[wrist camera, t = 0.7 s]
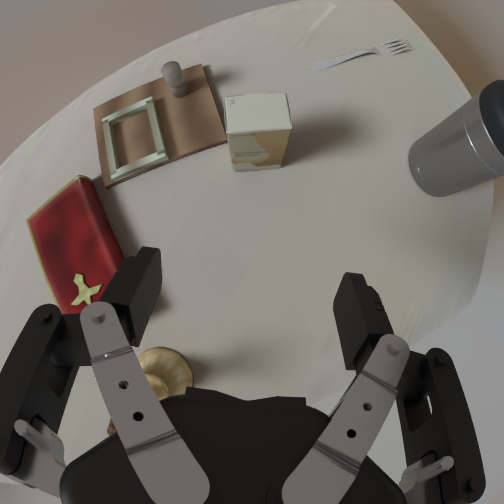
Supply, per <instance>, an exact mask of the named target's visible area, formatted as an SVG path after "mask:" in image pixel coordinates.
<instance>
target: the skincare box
mask: <svg viewBox="0 0 504 504" xmlns="http://www.w3.org/2000/svg"><path fill="white" fill-rule="evenodd" d="M224 116H225V126H226V134H227V140H228V145H229V151H230V155H231V161H232V166H233V171H234V172H243V171H257V170H267V169H277V168H281V164H282V161H283V157H284V154H285V151H286V147H287V144H288V141H289V137H290V134H291V131H292V119H291V110H290V103H289V97H288V93H287V92H267V93H250V94H240V95H230V96H224Z"/></svg>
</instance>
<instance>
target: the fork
mask: <svg viewBox="0 0 504 504" xmlns="http://www.w3.org/2000/svg"><path fill="white" fill-rule="evenodd" d="M403 38H404V37H402V38H398V39H395V40H391V41H388V42H384V43H381V45H382V46H383V45H384V44H388V43H391V42H394V41H398V40H400V39H403ZM405 41H407V40H404V41H401V42H397V43H394V44H391V45H388V46H383V47H384V48H385V49H386V51H387V52H388V53H389V54H390V55H395V54H397V53H400V52H402V51H404V50H406V49H408V48H410V47H412V46H409V47H406V48H404V49H401V50H399V51H397V52H394V53H390V52H391V51H394V50H396V49H398V48H401V47H403V46H405V45H407V44H409V43H406V44H403V45H401V46H398V47H395V48H393V49H387V48H389V47H392V46H395V45H397V44H400V43H403V42H405ZM365 53H376V54H378V55H382V54H381V53H380V52H379V51H378V50H377V49H376V47H373V48H372V49H368V50H363V51H359V52H356V53H352V54H348V55H345V56H341V57H336V58H332V59H329V60H325V61H321V62H318V63H315V64H313V65H311V66H310V67H309V70H310V71H321V70H324V69H326V68H329V67H332V66H335V65H337V64H339V63H342V62H344V61H346V60H349V59H351V58H354V57H356V56H359V55H362V54H365Z"/></svg>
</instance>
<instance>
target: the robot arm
mask: <svg viewBox="0 0 504 504" xmlns="http://www.w3.org/2000/svg"><path fill="white" fill-rule="evenodd" d="M409 167H410V170H411V173H412V175H413V177H414V179H415V181H416V182H417V184H418V185H419V186H420V187H421V188H422V189H423V190H424V191H425V192H426V193H428V194H430V195H432V196H436V197H443V196H446V195H449V194H452V193H455V192H457V191H461V190H464V189H466V188H469V187H472V186H475V185H478V184H480V183H483V182H486V181H489V180H492V179H495V178H497V177H500V176H503V175H504V80H496V81H494V82H492V83H491V84H490V85H488V86H487V87H486V88H484V89H483V90H482V91H481V92H479V93H478V94H477V95H475V96H474V97H473V98H472V99H470V100H469V101H468V102H467V103H465V104H464V105H463V106H462V107H460V108H459V109H458V110H456V111H455V112H454V113H452V114H451V115H450V116H449V117H447V118H446V119H445V120H443V121H442V122H441V123H439V124H438V125H437V126H436V127H434V128H433V129H432V130H430V131H429V132H428V133H426V134H425V135H424V136H422V137H421V138H420V139H418V140H417V141H416V142H415V143H414V144H413V145H412V147H411V149H410V152H409ZM161 285H162V268H161V252H160V249H159V248H152V247H144V246H143V247H142V248H141V249H140V251H139V252H138V254H137V256H136V257H132V256H130V257H128V258H127V259H126V260H124V261H123V262H122V263H121V264H120V266H119V267H118V269H117V270H116V272H115V274H114V275H113V278H112V279H111V280H110V282H109V284H108V285H107V287H106V289H105V291H104V292H103V294H102V296H101V297H100V299H99V301H98V302H93V303H91V304H89V305H87V306H86V307H85V308H84V309H83V310H82V312H81V313H76V314H62V313H61V310H60V309H59V307H58V306H56V305H54V304H44V305H41V306H39V307H38V308H36V309H35V310H34V311H33V313H32V314H31V316H30V318H29V319H28V321H27V323H26V325H25V326H24V328H23V330H22V332H21V333H20V335H19V337H18V339H17V341H16V343H15V344H14V346H13V348H12V350H11V352H10V354H9V356H8V358H7V360H6V362H5V364H4V366H3V368H2V370H1V373H0V473H1V474H2V475H4V476H6V477H8V478H10V479H12V480H14V481H16V482H18V483H22V484H24V485H26V486H28V487H31V488H38V489H40V490H42V491H44V492H47V493H49V494H51V495H53V496H56V497H58V498H61V502H62V504H471V503H473V502H476V501H477V500H478V499H480V497H481V496H482V495H483V493H484V490H485V486H486V480H485V474H484V469H483V463H482V458H481V454H480V450H479V445H478V441H477V437H476V433H475V429H474V425H473V422H472V418H471V415H470V411H469V408H468V405H467V401H466V398H465V395H464V392H463V389H462V386H461V383H460V380H459V377H458V375H457V372H456V369H455V366H454V364H453V361H452V359H451V357H450V356H449V354H448V353H447V352H445V351H444V350H442V349H440V348H432V349H430V350H429V351H428V352H427V353H426V355H423V354H420V353H417V352H413V351H410V349H409V346H408V344H407V343H406V342H405V341H404V340H403V339H402V338H401V337H399V336H397V335H394V332H393V329H392V327H391V324H390V322H389V319H388V316H387V314H386V312H385V309H384V306H383V305H382V301H381V299H380V297H379V294H378V293H377V292H376V291H375V290H374V289H373V288H372V286H367V283H366V281H365V278H364V276H363V274H358V273H349V272H346V273H345V274H344V276H343V278H342V281H341V283H340V286H339V288H338V291H337V293H336V296H335V299H334V303H333V312H334V316H335V320H336V325H337V329H338V334H339V338H340V343H341V348H342V352H343V357H344V362H345V367H346V370H356V376H355V377H354V379H353V380H352V382H351V384H350V385H349V387H348V388H347V390H346V391H345V393H344V395H343V396H342V397H341V399H340V401H339V402H338V403H337V405H336V406H335V408H334V409H333V411H332V412H331V413H330V415H329V416H327V415H326V414H325V413H323V412H321V411H319V410H317V409H315V408H312V407H310V406H306V397H281V396H276V397H270V398H264V399H257V400H250V401H246V400H242V399H239V398H236V397H233V396H230V395H227V394H224V393H221V392H218V391H215V390H207V389H200V388H194V387H187V386H186V391H185V394H180V395H174V396H170V397H167V398H164V399H162V400H158V398H157V397H156V395H155V393H154V391H153V389H152V387H151V385H150V383H149V381H148V379H147V377H146V375H145V373H144V371H143V369H142V367H141V365H140V363H139V361H138V359H137V357H136V354H135V352H134V350H133V348H132V347H130V346H134V347H139V345H140V342H141V339H142V337H143V334H144V331H145V328H146V326H147V323H148V321H149V318H150V315H151V313H152V310H153V308H154V305H155V302H156V300H157V297H158V295H159V292H160V290H161ZM80 366H92V368H93V371H94V374H95V377H96V380H97V383H98V385H99V388H100V391H101V394H102V396H103V399H104V401H105V404H106V407H107V409H108V411H109V414H110V416H111V419H112V421H113V423H114V426H115V428H116V430H117V431H116V432H114V433H113V434H112V435H110V436H109V437H107V438H106V439H104V440H103V441H102V442H100V443H99V444H97V445H96V446H94V447H93V448H91V449H90V450H89V451H87V452H86V453H84V454H83V455H81V456H80V457H78V458H77V459H75V460H74V461H72V462H71V463H70V464H69V465H68V466H67V467H66V464H65V462H64V446H63V443H62V441H61V439H60V438H59V436H57V433H58V430H59V426H60V423H61V420H62V416H63V413H64V410H65V407H66V404H67V401H68V398H69V395H70V392H71V389H72V386H73V383H74V380H75V377H76V375H77V372H78V369H79V367H80ZM428 395H429V398H430V402H431V406H432V415H431V412H430V408H429V404H428V400H427V396H428ZM395 399H396V402H397V408H398V413H399V419H400V424H401V430H402V436H403V442H404V449H405V456H406V464H407V468H406V469H405V470H404V472H403V474H402V477H401V481H400V482H399V486H398V485H397V484H396V483H395V482H394V481H393V480H392V479H391V478H390V477H389V476H388V475H387V474H386V473H385V472H383V471H382V469H380V467H378V466H377V465H376V464H375V463H374V462H373V461H372V460H371V459H370V458H369V457H368V456H367V453H368V451H369V449H370V448H371V446H372V444H373V442H374V440H375V439H376V437H377V435H378V433H379V431H380V429H381V427H382V425H383V423H384V421H385V419H386V417H387V415H388V413H389V411H390V409H391V407H392V405H393V402H394V400H395Z"/></svg>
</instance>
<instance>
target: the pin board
mask: <svg viewBox="0 0 504 504" xmlns="http://www.w3.org/2000/svg"><path fill="white" fill-rule="evenodd" d="M161 72H162V74H163V76H164V77H162V78H159V79H157V80H154V81H152V82H149V83H147V84H144V85H142V86H140V87H137V88H135V89H133V90H131V91H128V92H126V93H124V94H122V95H120V96H118V97H116V98H113V99H111V100H109V101H107V102H105V103H103V104H101V105H99V106H98V107H96V108H94V109H93V110H94V120H95V129H96V137H97V145H98V152H99V159H100V165H101V171H102V177H103V183H104V187H105V188H107V189H108V188H110V187H112V186H115V185H117V184H119V183H121V182H124V181H126V180H128V179H131V178H133V177H135V176H138V175H140V174H142V173H145V172H147V171H150V170H152V169H155V168H157V167H160V166H162V165H165V164H168V163H170V162H173V161H175V160H178V159H181V158H183V157H186V156H189V155H192V154H195V153H197V152H200V151H203V150H206V149H209V148H212V147H215V146H218V145H221V144H224V143H227V142H228V140H227V137H226V134H225V131H224V128H223V125H222V122H221V119H220V116H219V113H218V111H217V108H216V105H215V102H214V99H213V96H212V93H211V90H210V87H209V84H208V81H207V79H206V76H205V73H204V70H203V67H202V64H198V65H195V66H192V67H189V68H186V69H183V70H181V68H180V65H179V63H177V62H175V61H171V62H168V63H166V64H164V65H163V67H162V69H161Z"/></svg>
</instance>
